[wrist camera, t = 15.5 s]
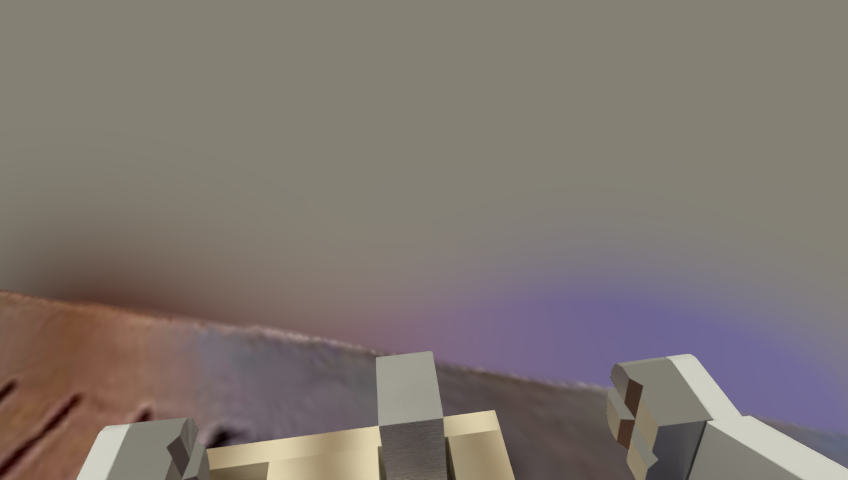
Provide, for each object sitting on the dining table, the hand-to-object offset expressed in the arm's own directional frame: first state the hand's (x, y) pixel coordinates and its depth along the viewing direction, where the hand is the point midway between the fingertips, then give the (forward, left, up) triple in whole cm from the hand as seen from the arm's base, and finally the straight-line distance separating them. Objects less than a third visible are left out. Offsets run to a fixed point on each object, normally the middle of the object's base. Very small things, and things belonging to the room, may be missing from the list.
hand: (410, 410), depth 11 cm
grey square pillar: (-10, +6, -25) cm, 28 cm away
